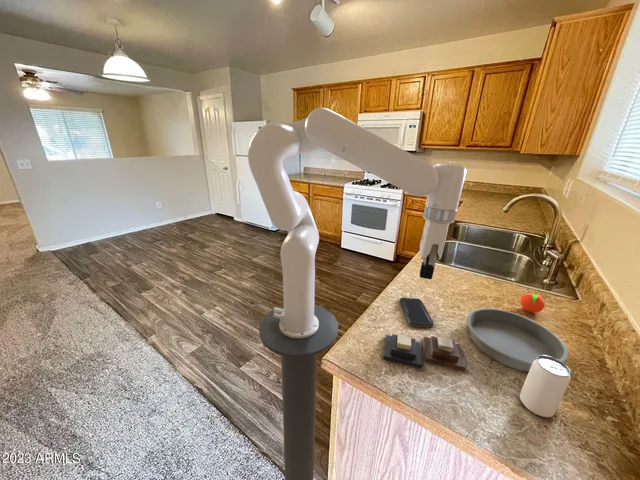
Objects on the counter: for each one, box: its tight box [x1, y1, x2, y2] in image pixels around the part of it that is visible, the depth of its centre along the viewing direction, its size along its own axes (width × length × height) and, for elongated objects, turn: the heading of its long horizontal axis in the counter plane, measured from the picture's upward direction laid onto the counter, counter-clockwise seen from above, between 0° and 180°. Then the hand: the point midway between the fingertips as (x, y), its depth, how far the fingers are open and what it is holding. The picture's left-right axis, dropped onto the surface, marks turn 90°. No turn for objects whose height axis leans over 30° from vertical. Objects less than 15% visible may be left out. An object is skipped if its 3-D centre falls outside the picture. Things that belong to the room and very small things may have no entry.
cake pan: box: [466, 307, 569, 373], centre depth 79 cm, size 25×25×4 cm
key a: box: [397, 334, 412, 351], centre depth 74 cm, size 4×4×2 cm
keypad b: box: [422, 335, 466, 371], centre depth 75 cm, size 10×9×3 cm
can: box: [519, 355, 572, 418], centre depth 59 cm, size 6×6×12 cm
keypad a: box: [382, 333, 423, 369], centre depth 75 cm, size 10×9×3 cm
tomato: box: [519, 292, 546, 314], centre depth 95 cm, size 8×7×7 cm
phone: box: [399, 297, 434, 328], centre depth 93 cm, size 8×1×15 cm
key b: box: [437, 335, 453, 352], centre depth 74 cm, size 4×4×2 cm
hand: (425, 277), depth 74 cm, fingers closed
